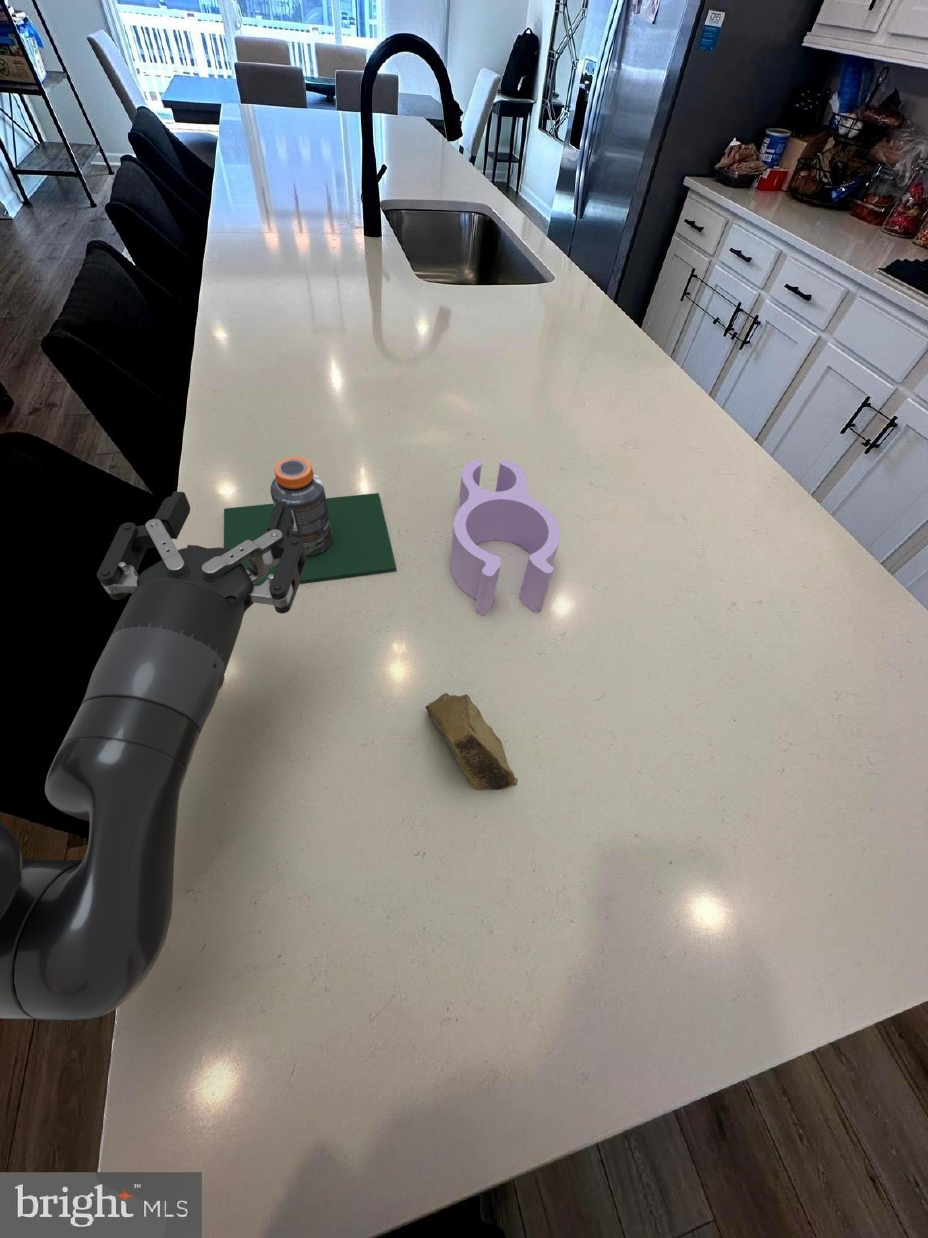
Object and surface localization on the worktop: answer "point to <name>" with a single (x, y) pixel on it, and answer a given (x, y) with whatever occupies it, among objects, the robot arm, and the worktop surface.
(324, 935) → the worktop surface
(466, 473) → the clip
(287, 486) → the pill bottle
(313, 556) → the mat
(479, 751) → the rock
